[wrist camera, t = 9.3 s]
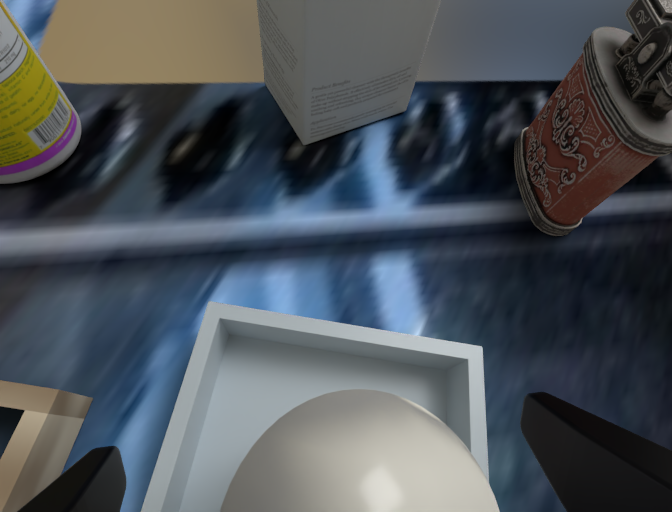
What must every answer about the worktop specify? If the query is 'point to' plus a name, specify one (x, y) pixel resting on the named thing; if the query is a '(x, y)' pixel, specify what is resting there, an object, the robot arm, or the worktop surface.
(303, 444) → the white domed canister
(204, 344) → the tray
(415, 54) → the skincare box
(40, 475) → the holder
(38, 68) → the supplement bottle
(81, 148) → the worktop surface
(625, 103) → the lighter
